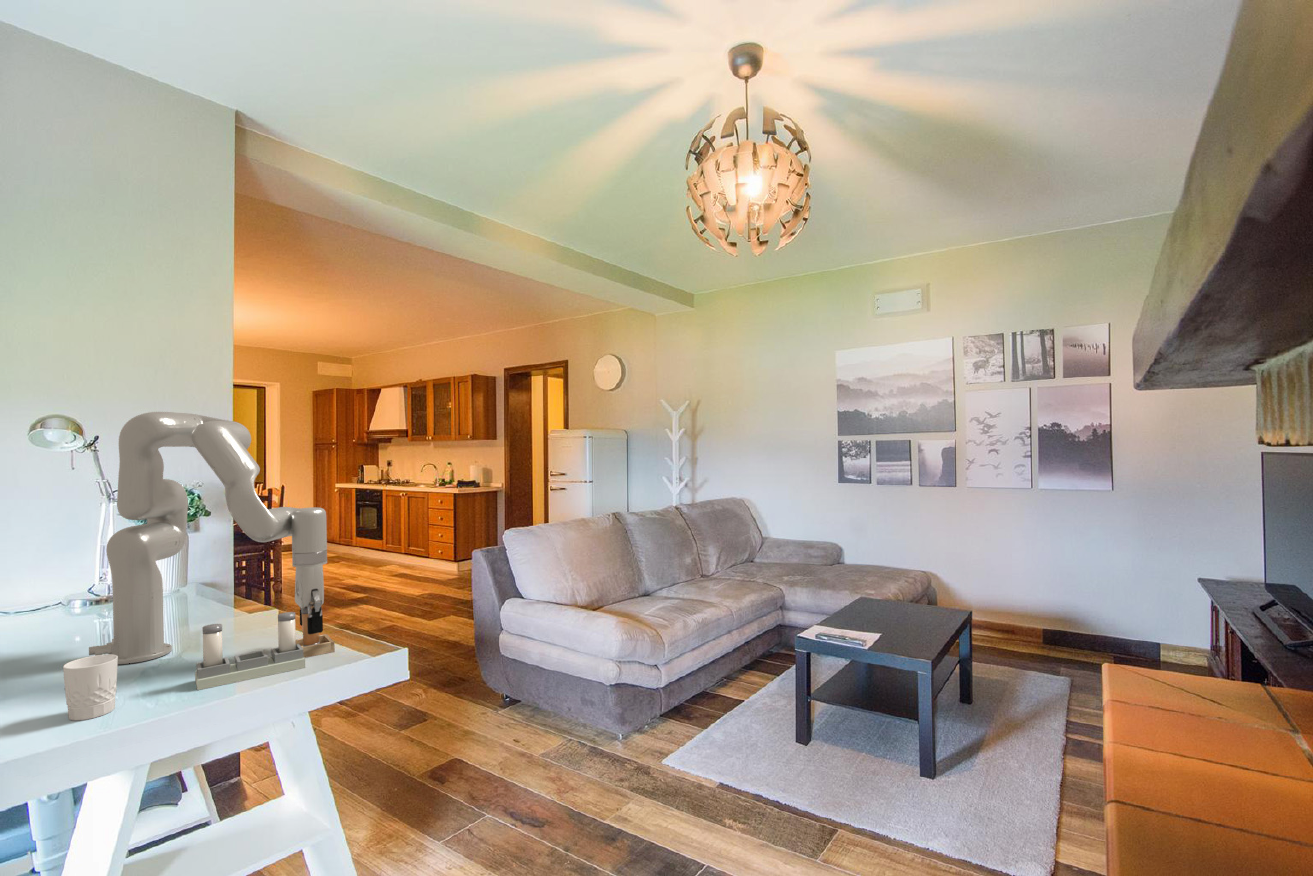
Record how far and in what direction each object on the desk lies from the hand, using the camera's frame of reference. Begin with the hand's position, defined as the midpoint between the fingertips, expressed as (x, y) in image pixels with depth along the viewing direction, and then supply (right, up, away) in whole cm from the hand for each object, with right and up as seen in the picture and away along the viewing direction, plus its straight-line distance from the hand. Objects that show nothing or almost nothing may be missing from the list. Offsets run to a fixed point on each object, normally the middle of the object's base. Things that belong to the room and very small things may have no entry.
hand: (311, 628), depth 158 cm
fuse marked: (0, -5, 0) cm, 5 cm away
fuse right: (0, -4, -11) cm, 11 cm away
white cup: (-23, -6, -35) cm, 42 cm away
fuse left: (-11, -4, -19) cm, 22 cm away
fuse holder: (-5, -6, -15) cm, 17 cm away
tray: (0, -6, 0) cm, 6 cm away
